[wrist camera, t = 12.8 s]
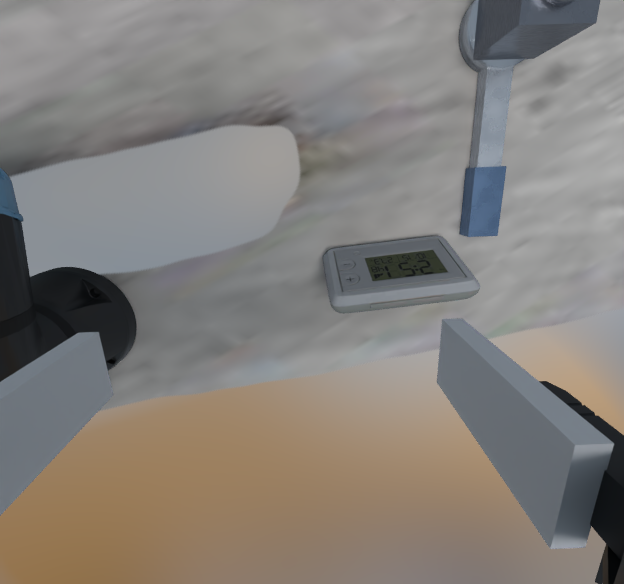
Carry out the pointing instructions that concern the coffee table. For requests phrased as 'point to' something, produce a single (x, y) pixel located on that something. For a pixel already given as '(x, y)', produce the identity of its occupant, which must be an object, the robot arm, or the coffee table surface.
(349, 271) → the digital clock
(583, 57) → the coffee table surface
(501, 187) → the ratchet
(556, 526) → the robot arm
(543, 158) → the coffee table surface
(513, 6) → the socket
